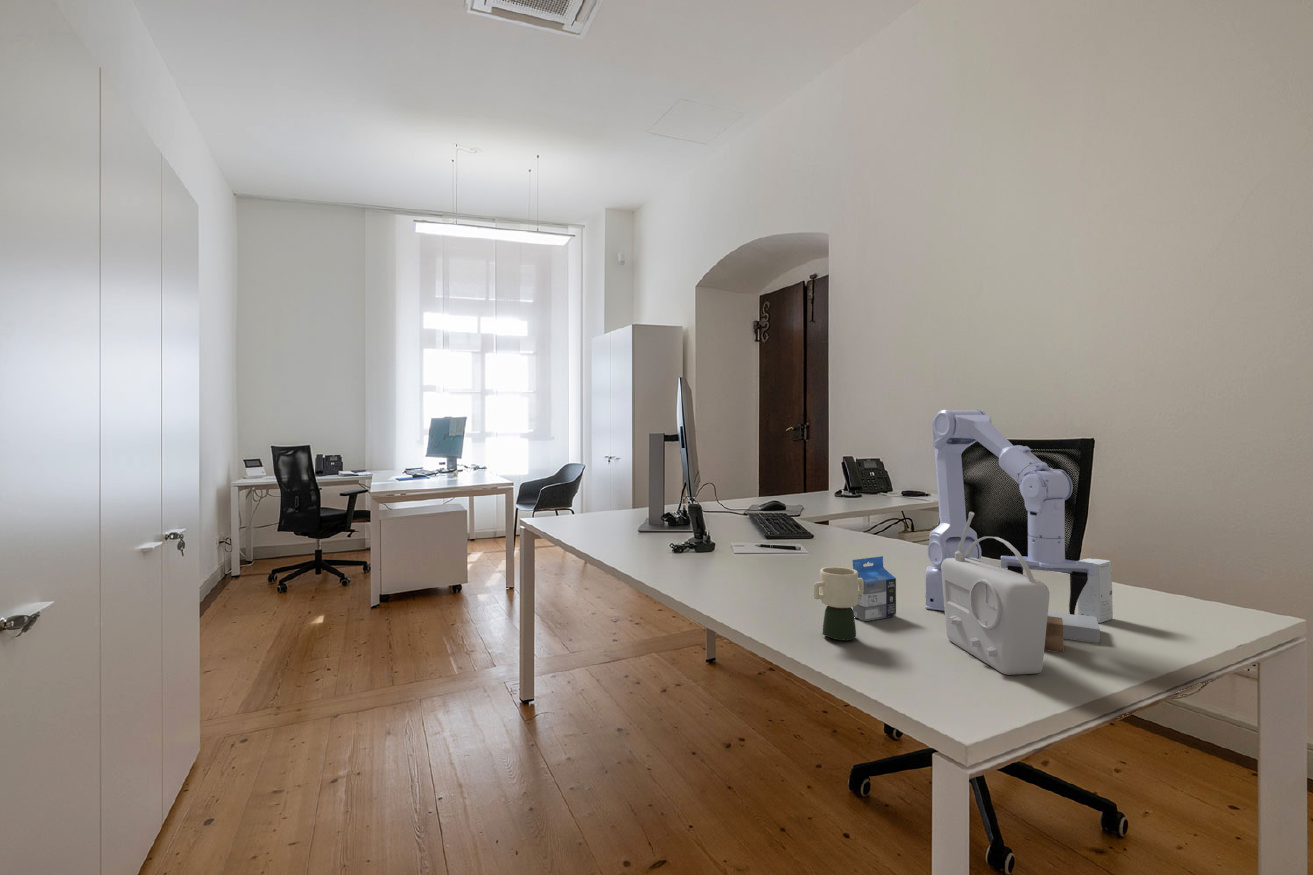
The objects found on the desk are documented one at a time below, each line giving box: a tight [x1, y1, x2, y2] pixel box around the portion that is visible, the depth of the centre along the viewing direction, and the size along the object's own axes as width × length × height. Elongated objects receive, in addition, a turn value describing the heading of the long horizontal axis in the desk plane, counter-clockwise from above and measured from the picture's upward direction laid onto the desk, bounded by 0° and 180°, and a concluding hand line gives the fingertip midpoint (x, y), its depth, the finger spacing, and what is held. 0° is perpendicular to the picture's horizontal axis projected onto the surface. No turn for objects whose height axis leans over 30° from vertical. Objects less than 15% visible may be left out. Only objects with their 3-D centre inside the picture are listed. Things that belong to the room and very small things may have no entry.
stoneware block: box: [1048, 610, 1101, 644], centre depth 121 cm, size 9×9×3 cm
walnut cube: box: [1044, 616, 1064, 654], centre depth 114 cm, size 5×5×5 cm
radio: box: [941, 511, 1050, 676], centre depth 109 cm, size 22×8×25 cm, turn 4°
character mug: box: [813, 566, 864, 641], centre depth 119 cm, size 11×7×13 cm, turn 108°
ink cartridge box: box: [852, 555, 897, 622], centre depth 132 cm, size 9×4×12 cm, turn 115°
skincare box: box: [1077, 557, 1114, 624], centre depth 130 cm, size 6×4×12 cm
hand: (1046, 610), depth 114 cm, fingers open, 7 cm apart
